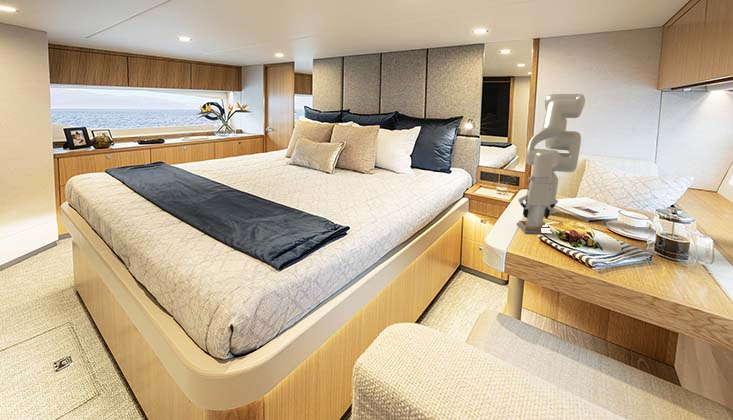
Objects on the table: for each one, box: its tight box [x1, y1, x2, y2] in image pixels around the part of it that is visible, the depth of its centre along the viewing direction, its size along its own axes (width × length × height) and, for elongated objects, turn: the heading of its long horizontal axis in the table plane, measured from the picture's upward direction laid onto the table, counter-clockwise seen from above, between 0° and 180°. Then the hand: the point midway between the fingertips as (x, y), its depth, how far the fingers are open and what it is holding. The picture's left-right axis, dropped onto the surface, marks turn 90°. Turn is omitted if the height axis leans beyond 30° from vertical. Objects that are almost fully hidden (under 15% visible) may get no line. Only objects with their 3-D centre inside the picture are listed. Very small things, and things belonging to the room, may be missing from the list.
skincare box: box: [525, 204, 545, 227], centre depth 166 cm, size 6×4×12 cm
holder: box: [516, 220, 551, 235], centre depth 167 cm, size 12×12×2 cm
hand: (535, 217), depth 166 cm, fingers open, 8 cm apart
